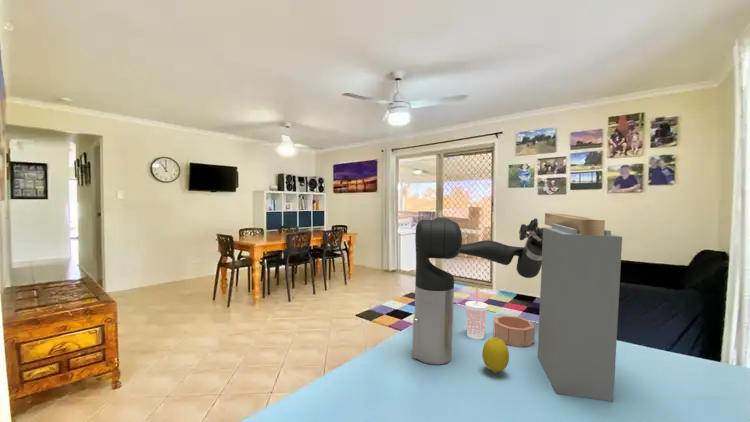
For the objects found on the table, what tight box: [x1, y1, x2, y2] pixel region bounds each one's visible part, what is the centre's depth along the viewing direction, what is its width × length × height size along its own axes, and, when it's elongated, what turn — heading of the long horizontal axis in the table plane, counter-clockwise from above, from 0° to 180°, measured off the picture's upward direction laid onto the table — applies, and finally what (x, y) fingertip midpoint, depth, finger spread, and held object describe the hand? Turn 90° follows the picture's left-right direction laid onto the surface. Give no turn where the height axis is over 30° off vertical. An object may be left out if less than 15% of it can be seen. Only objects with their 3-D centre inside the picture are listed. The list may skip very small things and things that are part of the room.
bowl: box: [492, 314, 536, 348], centre depth 90 cm, size 10×10×5 cm
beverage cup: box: [464, 286, 489, 340], centre depth 92 cm, size 6×6×14 cm
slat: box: [544, 212, 606, 236], centre depth 75 cm, size 4×26×3 cm, turn 166°
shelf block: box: [537, 224, 623, 403], centre depth 71 cm, size 10×15×33 cm, turn 166°
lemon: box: [481, 336, 510, 374], centre depth 73 cm, size 6×6×8 cm
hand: (553, 222), depth 87 cm, fingers open, 8 cm apart
